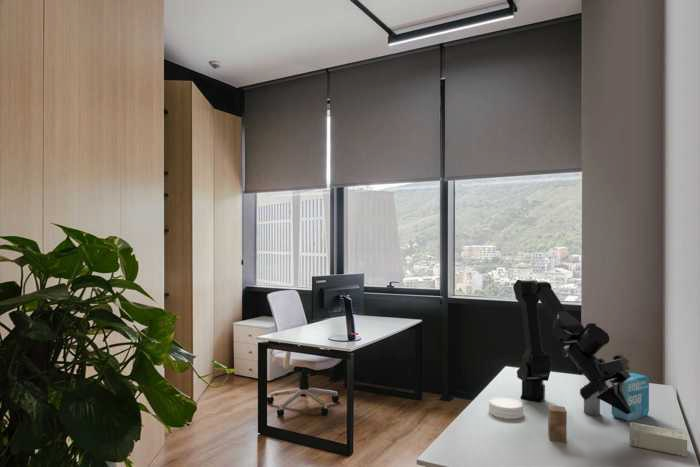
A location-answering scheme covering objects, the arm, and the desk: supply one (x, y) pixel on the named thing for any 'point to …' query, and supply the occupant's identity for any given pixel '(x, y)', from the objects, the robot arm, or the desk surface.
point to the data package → (634, 397)
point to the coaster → (506, 408)
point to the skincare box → (658, 439)
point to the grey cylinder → (592, 405)
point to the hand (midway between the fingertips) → (629, 413)
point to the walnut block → (557, 423)
